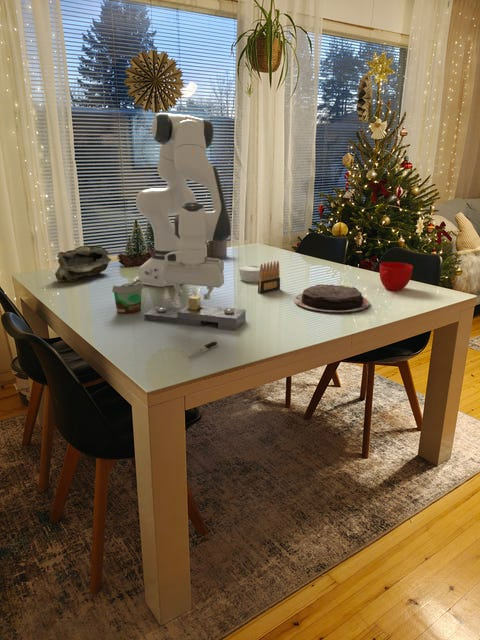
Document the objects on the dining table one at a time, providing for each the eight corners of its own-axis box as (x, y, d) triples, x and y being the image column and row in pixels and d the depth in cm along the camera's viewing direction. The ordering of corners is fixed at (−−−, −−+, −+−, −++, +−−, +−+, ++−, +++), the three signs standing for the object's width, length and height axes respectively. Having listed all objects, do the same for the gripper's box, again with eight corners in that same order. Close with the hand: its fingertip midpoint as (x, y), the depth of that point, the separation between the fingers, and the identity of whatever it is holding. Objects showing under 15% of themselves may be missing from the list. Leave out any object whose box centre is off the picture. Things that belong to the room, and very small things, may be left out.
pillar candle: (206, 258, 261) (206, 229, 256) (210, 254, 270) (211, 226, 266) (224, 259, 260) (225, 230, 255) (228, 255, 269) (228, 227, 264)
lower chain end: (144, 319, 165) (143, 311, 164) (158, 311, 174) (157, 303, 173) (200, 326, 159) (200, 317, 158) (211, 317, 168) (211, 308, 167)
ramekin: (265, 277, 223) (265, 265, 221) (263, 283, 213) (263, 271, 211) (240, 276, 224) (240, 264, 223) (237, 282, 214) (237, 270, 212)
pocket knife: (216, 345, 144) (216, 339, 143) (219, 346, 144) (219, 339, 143) (185, 360, 133) (185, 353, 133) (188, 361, 133) (188, 354, 132)
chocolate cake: (291, 293, 200) (291, 277, 198) (360, 294, 199) (362, 278, 197) (296, 314, 173) (297, 296, 171) (377, 316, 172) (379, 298, 170)
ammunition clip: (260, 293, 197) (261, 264, 193) (257, 292, 198) (258, 263, 194) (280, 289, 203) (281, 260, 199) (277, 288, 204) (278, 259, 201)
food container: (127, 317, 167) (125, 288, 164) (114, 314, 170) (111, 286, 167) (151, 308, 177) (150, 281, 174) (139, 305, 180) (137, 278, 177)
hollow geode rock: (108, 281, 232) (91, 255, 235) (121, 264, 225) (104, 238, 227) (57, 292, 210) (39, 263, 212) (69, 274, 203) (51, 245, 205)
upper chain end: (177, 323, 161) (177, 309, 160) (189, 314, 170) (189, 300, 169) (236, 330, 156) (236, 315, 154) (245, 321, 165) (245, 306, 163)
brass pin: (188, 321, 164) (188, 298, 161) (192, 318, 167) (191, 295, 164) (197, 322, 163) (196, 298, 160) (200, 319, 166) (200, 296, 163)
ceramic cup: (366, 290, 203) (369, 266, 200) (386, 283, 214) (389, 260, 211) (396, 297, 194) (399, 272, 191) (415, 289, 206) (418, 265, 203)
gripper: (227, 256, 158) (226, 298, 162) (168, 251, 164) (169, 292, 168) (220, 260, 152) (220, 303, 157) (159, 255, 158) (161, 297, 162)
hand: (193, 297), depth 162 cm, fingers open, 8 cm apart
